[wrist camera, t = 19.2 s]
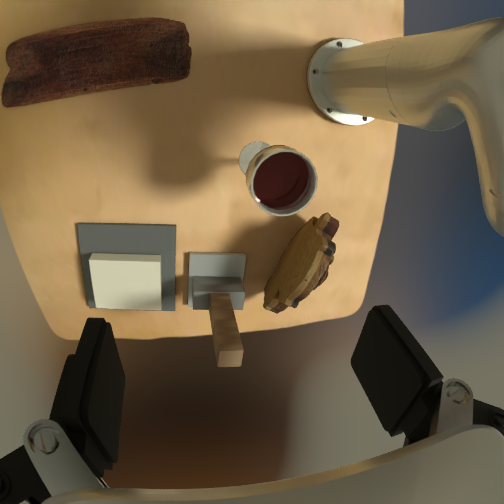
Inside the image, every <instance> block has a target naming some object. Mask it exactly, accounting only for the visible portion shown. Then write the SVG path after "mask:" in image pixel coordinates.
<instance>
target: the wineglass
mask: <svg viewBox="0 0 504 504" xmlns="http://www.w3.org/2000/svg"><path fill="white" fill-rule="evenodd" d="M239 165H240V167H241V170H242V171H243V172H244V174H246V185H247V188H248V191H249V194H250V196H251V197H252V198H253V199H254V201H255V202H256V203H257V205H258V206H259V207H260V208H261V209H262V210H264V211H265V212H267V213H268V214H271V215H275V216H290V215H292V214H295V213H298V212H300V211H301V210H302V209H304V208H305V207H306V206H307V205H308V204H309V203H310V201H311V200H312V199H313V197H314V195H315V192H316V189H317V180H318V177H317V173H316V169H315V167H314V165H313V164H312V162H311V161H310V159H309V158H307V157H306V156H305V155H303V154H302V153H300V152H298V151H297V150H295V149H293V148H291V147H288V146H285V145H273V146H270V145H268V144H267V143H264V142H253V143H250V144H249V145H247V146H246V147H245V148H244V149H243V150H242V152H241V154H240V157H239Z"/></svg>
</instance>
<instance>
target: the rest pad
mask: <svg viewBox="0 0 504 504" xmlns="http://www.w3.org/2000/svg"><path fill="white" fill-rule="evenodd" d="M245 263H246V253H218V252H190V256H189V284H188V307H193V302H192V281H193V276H217V277H241V280H242V283H243V278H244V270H245Z"/></svg>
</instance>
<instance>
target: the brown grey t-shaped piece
mask: <svg viewBox="0 0 504 504" xmlns="http://www.w3.org/2000/svg"><path fill="white" fill-rule="evenodd" d="M244 298H245V289H244V286H243V283H242V280H241V277H217V276H193V281H192V302H193V309H196V310H209V313H210V320H211V327H212V333H213V339H214V346H215V353H216V358H217V364H218V367H236V366H241V362H242V355H243V346H242V343H241V339H240V335H239V331H238V327H237V323H236V319H235V315H234V311H233V310H243V305H244Z"/></svg>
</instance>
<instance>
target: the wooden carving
mask: <svg viewBox="0 0 504 504" xmlns="http://www.w3.org/2000/svg"><path fill="white" fill-rule="evenodd" d="M338 227H339V221H338V220H336V219H335V218H333V217H331V215H330V214H329V213H324V214H323V215H321V216H320V218H319V219H318V218H316V217H312V218H311V219H310V220H309V221H308V222H307V223H306V224H305V225H304V226H303V227H302V228H301V229H300V231H299V232H298V233H297V234H296V235H295V237H294V238H293V239H292V241H291V242H290V244H289V245H288V247H287V249H286V250H285V252H284V254H283V255H282V257H281V259H280V261H279V264H278V266H277V269H276V271H275V273H274V275H273V276H272V277H271V279H270V280H269V281H268V283H267V284H266V286H265V291H264V293H265V296H264V304H263V307H264V308H265V309H266V310H270V311H272V312H275V313H279V312H281V311H284V310H285V309H286V308H287V307H288V306H289V307H290V306H291V307H293V308H296V307H297V306H298V304H299V301H302V300H303V299H305V298H306V297H307V296H308V295H309V294H310V292H311V291H312V290H315V289H316V288H317V287H318V286H320V285H321V284H322V283H323V282H324V281H325V280H326V278H327V276H328V268H329V265H330V264H332V262H333V260H334V256H333V254H334V253H335V250H336V245H335V243H334V242H332V241H331V240H332V238H333V237H334V235H335V234H336V232H337V230H338Z"/></svg>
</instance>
